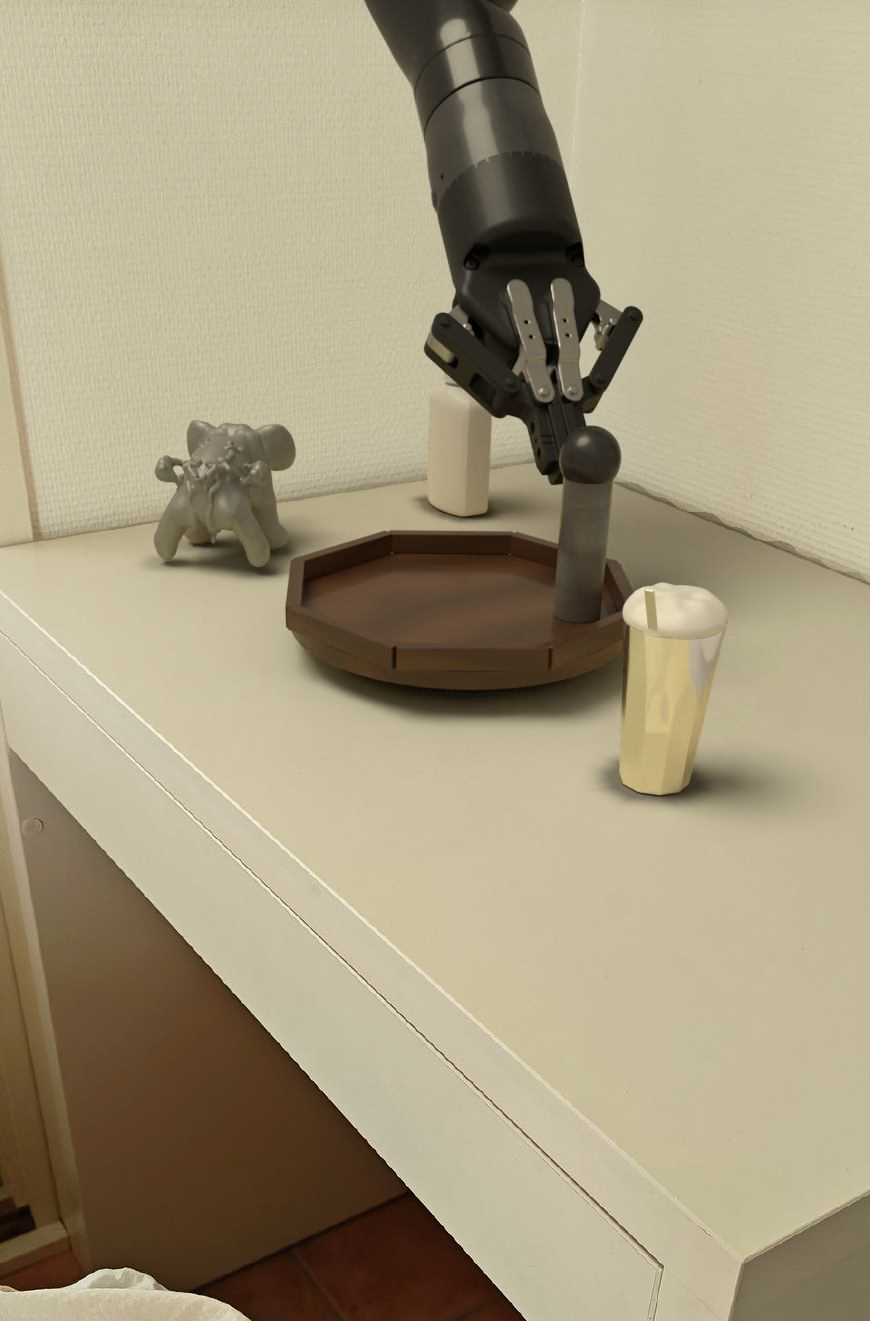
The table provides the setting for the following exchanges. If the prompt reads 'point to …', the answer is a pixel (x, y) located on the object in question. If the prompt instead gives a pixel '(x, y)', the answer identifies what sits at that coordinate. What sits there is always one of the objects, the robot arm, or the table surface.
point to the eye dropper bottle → (458, 451)
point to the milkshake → (666, 682)
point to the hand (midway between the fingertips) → (569, 476)
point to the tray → (474, 594)
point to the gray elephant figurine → (226, 488)
